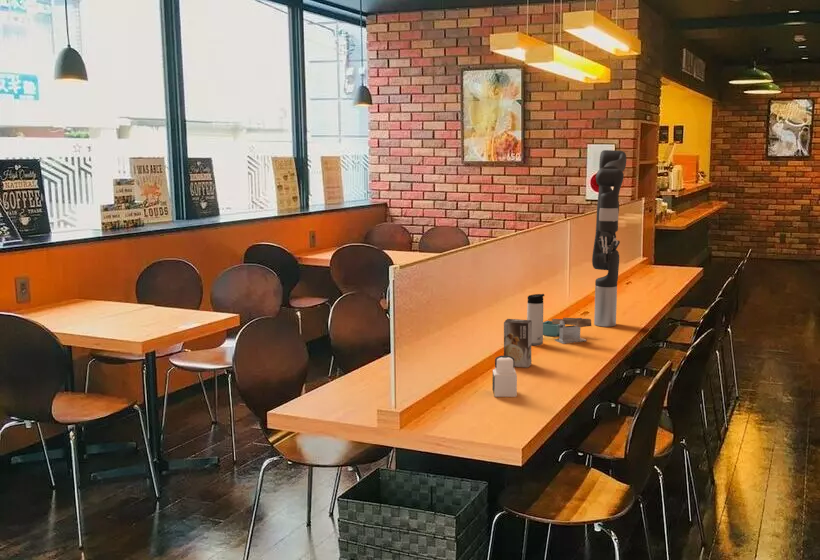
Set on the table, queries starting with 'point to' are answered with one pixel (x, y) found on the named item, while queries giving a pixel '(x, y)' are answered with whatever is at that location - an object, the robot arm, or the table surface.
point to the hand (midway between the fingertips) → (607, 262)
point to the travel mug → (536, 318)
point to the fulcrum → (569, 334)
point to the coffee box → (518, 341)
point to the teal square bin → (551, 329)
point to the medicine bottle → (504, 377)
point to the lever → (574, 321)
